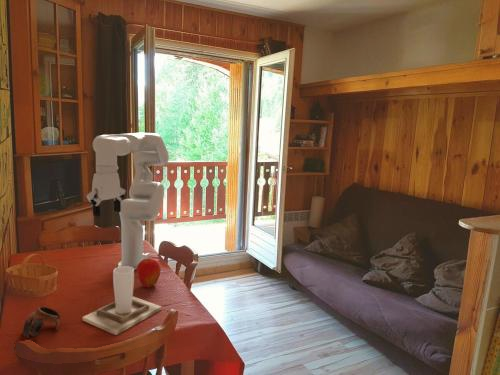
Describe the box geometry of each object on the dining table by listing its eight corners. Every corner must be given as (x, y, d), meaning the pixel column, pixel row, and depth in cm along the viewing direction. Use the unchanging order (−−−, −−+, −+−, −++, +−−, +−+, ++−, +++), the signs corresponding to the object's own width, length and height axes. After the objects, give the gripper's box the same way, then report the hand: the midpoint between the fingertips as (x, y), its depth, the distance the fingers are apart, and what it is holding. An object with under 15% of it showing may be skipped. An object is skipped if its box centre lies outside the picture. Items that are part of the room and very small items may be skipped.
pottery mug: (24, 327, 117) (38, 302, 119) (53, 338, 119) (66, 313, 121) (12, 338, 106) (27, 310, 107) (44, 350, 108) (59, 322, 109)
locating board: (129, 298, 139) (129, 291, 139) (161, 309, 131) (161, 302, 131) (82, 320, 122) (82, 312, 121) (116, 335, 114) (116, 327, 114)
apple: (164, 284, 152) (164, 256, 151) (150, 292, 144) (150, 263, 142) (147, 279, 156) (147, 252, 154) (131, 287, 148) (131, 258, 146)
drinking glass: (127, 317, 123) (127, 274, 120) (109, 314, 124) (108, 272, 122) (137, 307, 129) (137, 267, 127) (120, 305, 131) (119, 264, 128)
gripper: (117, 167, 149) (118, 208, 152) (80, 170, 134) (81, 216, 137) (131, 169, 146) (131, 211, 148) (93, 172, 131) (94, 219, 133)
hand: (107, 213), depth 143 cm, fingers open, 9 cm apart
